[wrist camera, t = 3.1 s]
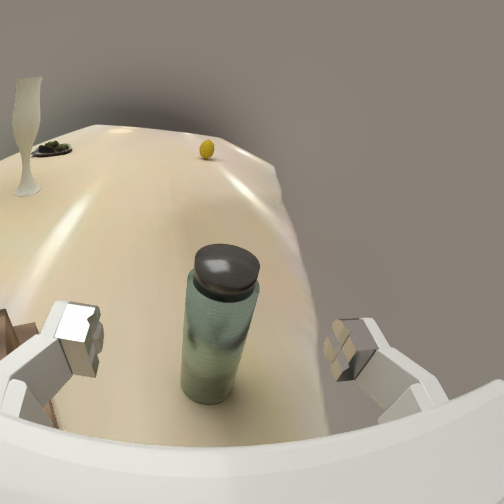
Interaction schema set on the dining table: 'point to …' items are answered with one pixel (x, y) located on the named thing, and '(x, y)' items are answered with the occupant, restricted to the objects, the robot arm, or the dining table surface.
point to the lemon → (206, 149)
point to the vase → (26, 129)
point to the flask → (217, 320)
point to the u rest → (10, 338)
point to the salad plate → (52, 149)
